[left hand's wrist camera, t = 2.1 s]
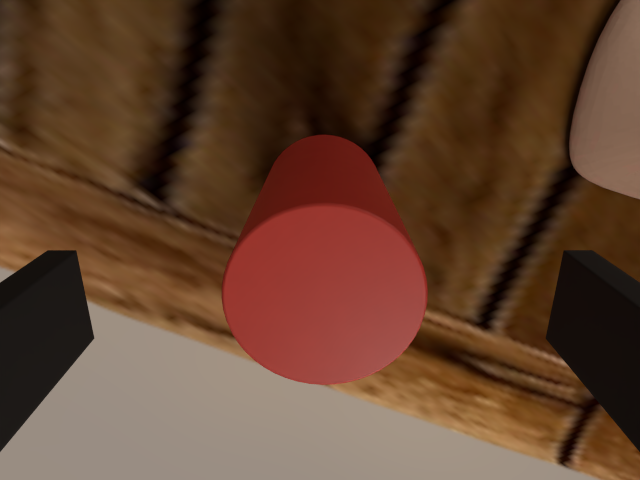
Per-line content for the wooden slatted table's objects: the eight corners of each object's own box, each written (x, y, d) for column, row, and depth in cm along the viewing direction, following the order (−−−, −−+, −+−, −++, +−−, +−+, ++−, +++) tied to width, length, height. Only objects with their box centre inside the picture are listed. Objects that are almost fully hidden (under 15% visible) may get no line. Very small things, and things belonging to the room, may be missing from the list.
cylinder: (350, 260, 22) (371, 410, 13) (250, 219, 22) (193, 346, 12) (400, 163, 21) (467, 254, 11) (293, 114, 20) (265, 167, 10)
